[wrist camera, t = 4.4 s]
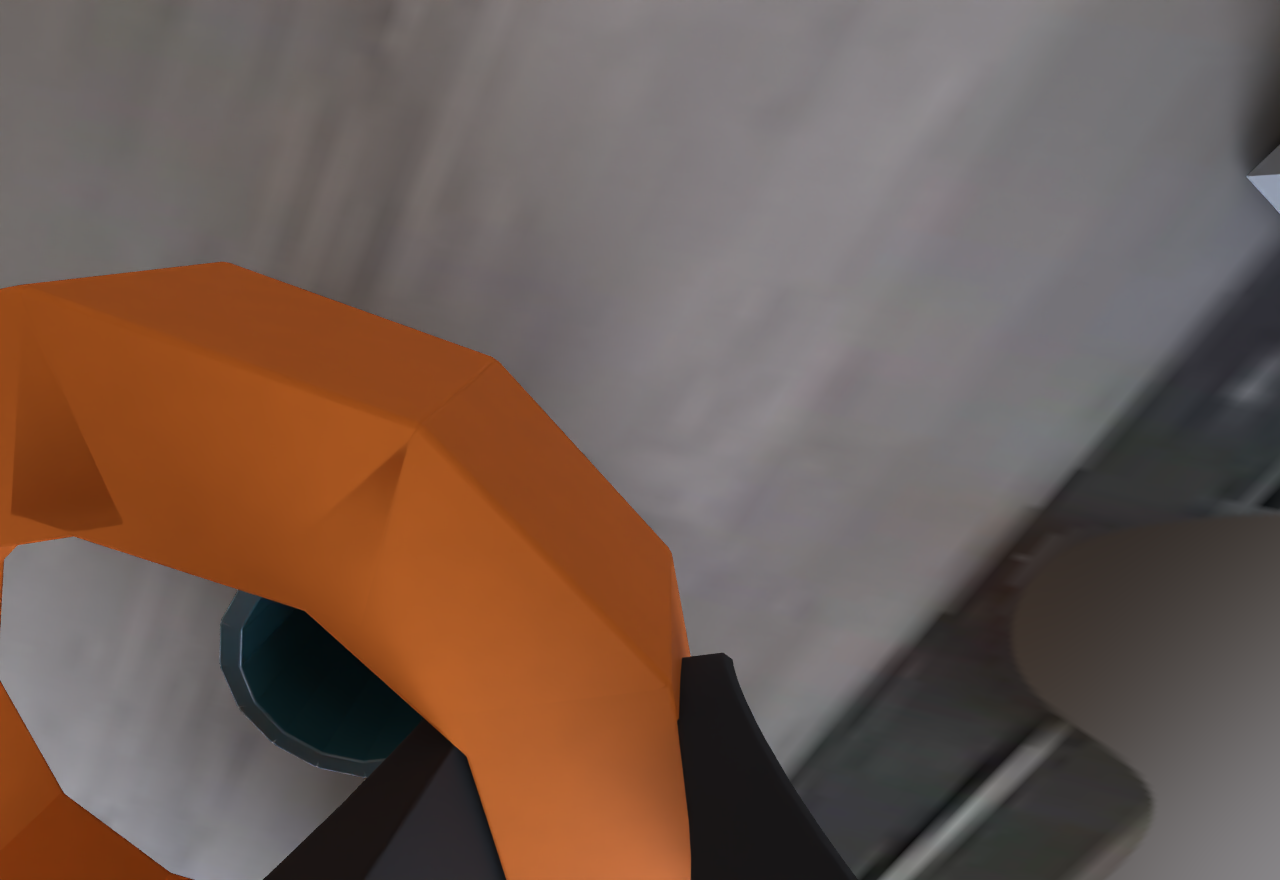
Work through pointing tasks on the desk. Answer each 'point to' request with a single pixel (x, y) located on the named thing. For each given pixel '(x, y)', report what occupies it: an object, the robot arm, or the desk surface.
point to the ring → (354, 546)
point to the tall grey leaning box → (1268, 178)
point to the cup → (309, 688)
